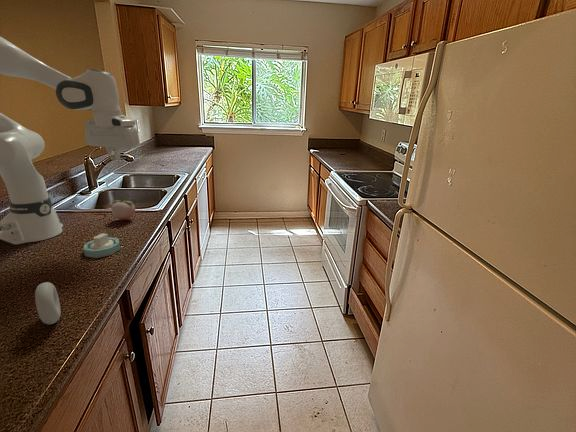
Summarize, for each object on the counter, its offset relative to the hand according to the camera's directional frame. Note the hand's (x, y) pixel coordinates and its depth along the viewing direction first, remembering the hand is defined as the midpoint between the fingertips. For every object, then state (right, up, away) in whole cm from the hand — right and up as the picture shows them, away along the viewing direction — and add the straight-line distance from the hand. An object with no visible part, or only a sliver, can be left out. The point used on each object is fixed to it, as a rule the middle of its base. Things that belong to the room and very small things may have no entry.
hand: (115, 159), depth 115 cm
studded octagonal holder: (-2, -33, -5) cm, 33 cm away
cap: (-2, -32, -5) cm, 32 cm away
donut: (+7, -46, -40) cm, 61 cm away
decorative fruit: (-8, -23, +22) cm, 33 cm away
